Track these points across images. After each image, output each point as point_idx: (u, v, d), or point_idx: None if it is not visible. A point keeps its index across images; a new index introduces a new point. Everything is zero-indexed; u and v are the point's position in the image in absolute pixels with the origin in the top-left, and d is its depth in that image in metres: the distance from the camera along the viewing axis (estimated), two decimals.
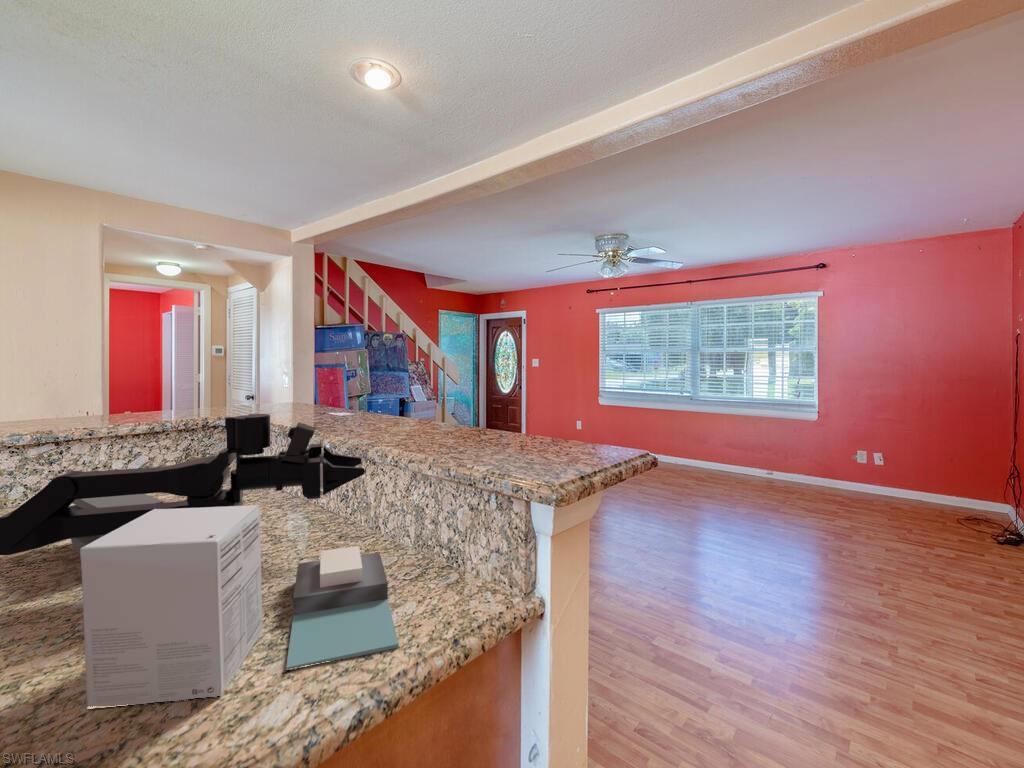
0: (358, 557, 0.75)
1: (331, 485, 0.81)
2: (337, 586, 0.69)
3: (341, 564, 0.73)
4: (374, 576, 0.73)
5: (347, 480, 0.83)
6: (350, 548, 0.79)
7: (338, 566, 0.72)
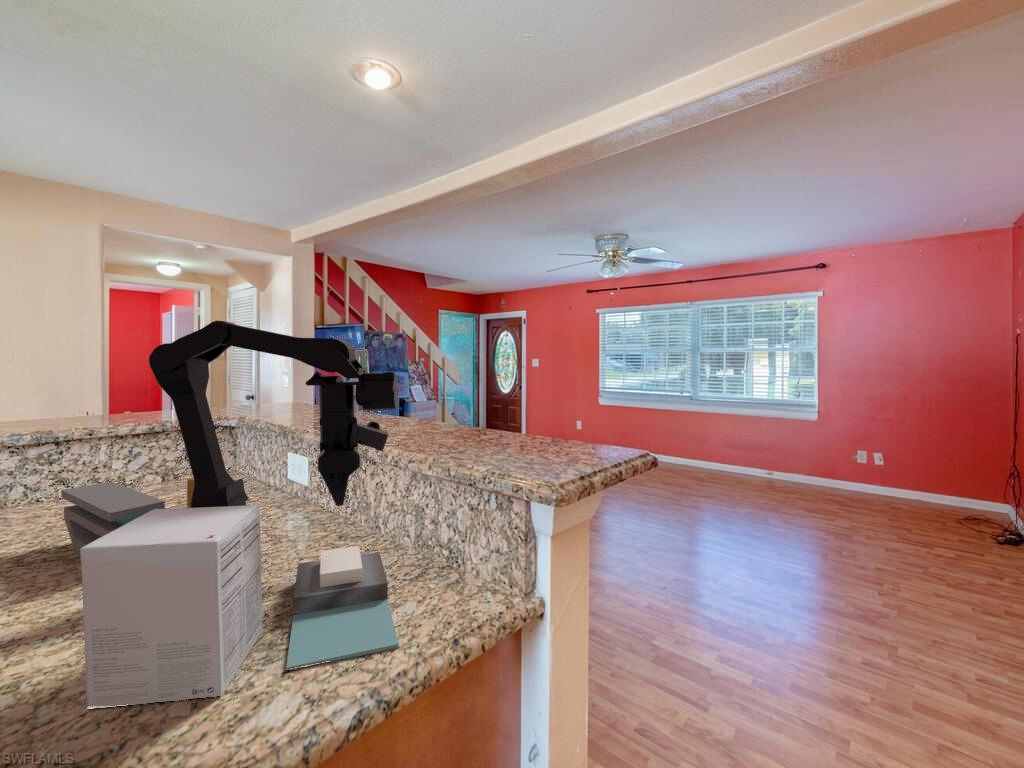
0: (358, 557, 0.75)
1: (328, 476, 0.76)
2: (337, 586, 0.69)
3: (341, 564, 0.73)
4: (374, 576, 0.73)
5: (331, 490, 0.77)
6: (350, 548, 0.79)
7: (338, 566, 0.72)
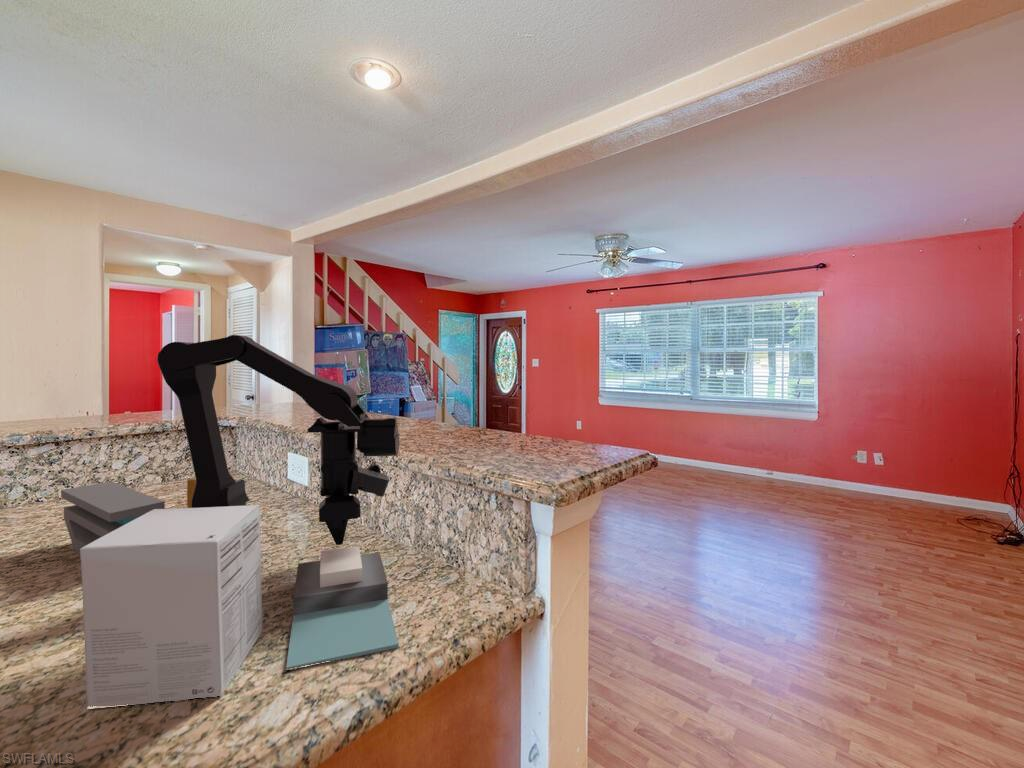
0: (358, 557, 0.75)
1: None
2: (337, 586, 0.69)
3: (341, 564, 0.73)
4: (374, 576, 0.73)
5: (331, 531, 0.81)
6: (350, 548, 0.79)
7: (338, 566, 0.72)
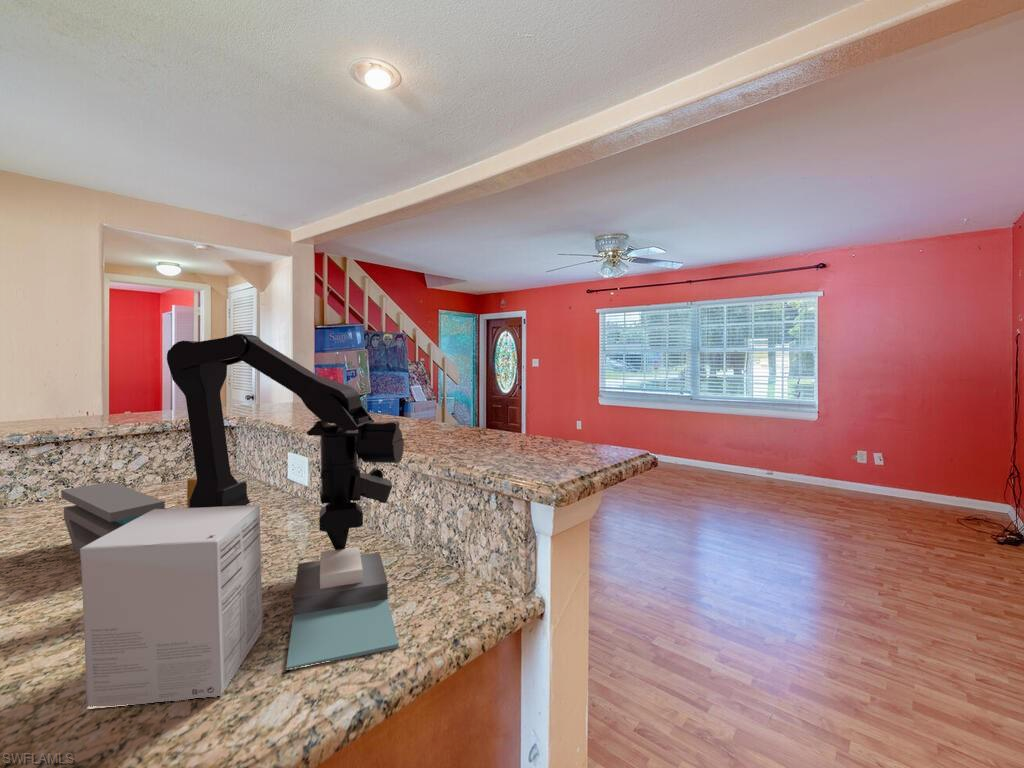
0: (358, 558, 0.75)
1: None
2: (337, 586, 0.69)
3: (341, 565, 0.72)
4: (374, 576, 0.73)
5: (332, 539, 0.77)
6: (350, 549, 0.78)
7: (338, 567, 0.71)
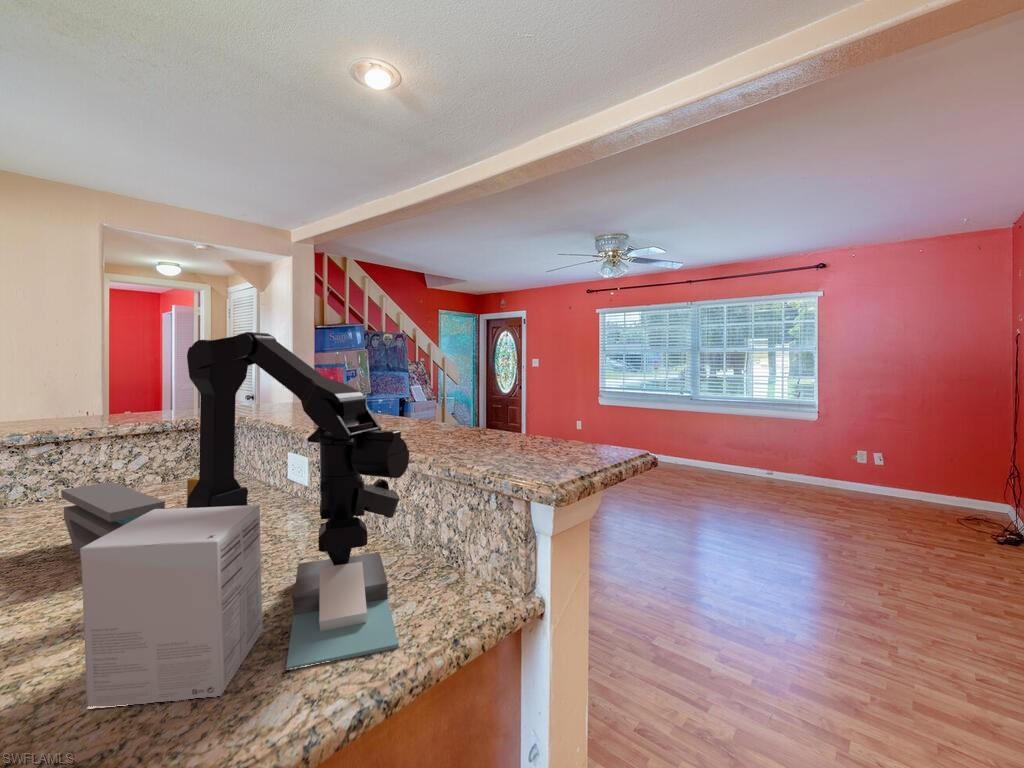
0: (362, 587, 0.67)
1: None
2: None
3: (343, 600, 0.65)
4: (374, 576, 0.73)
5: (333, 558, 0.70)
6: (352, 566, 0.70)
7: (339, 604, 0.64)
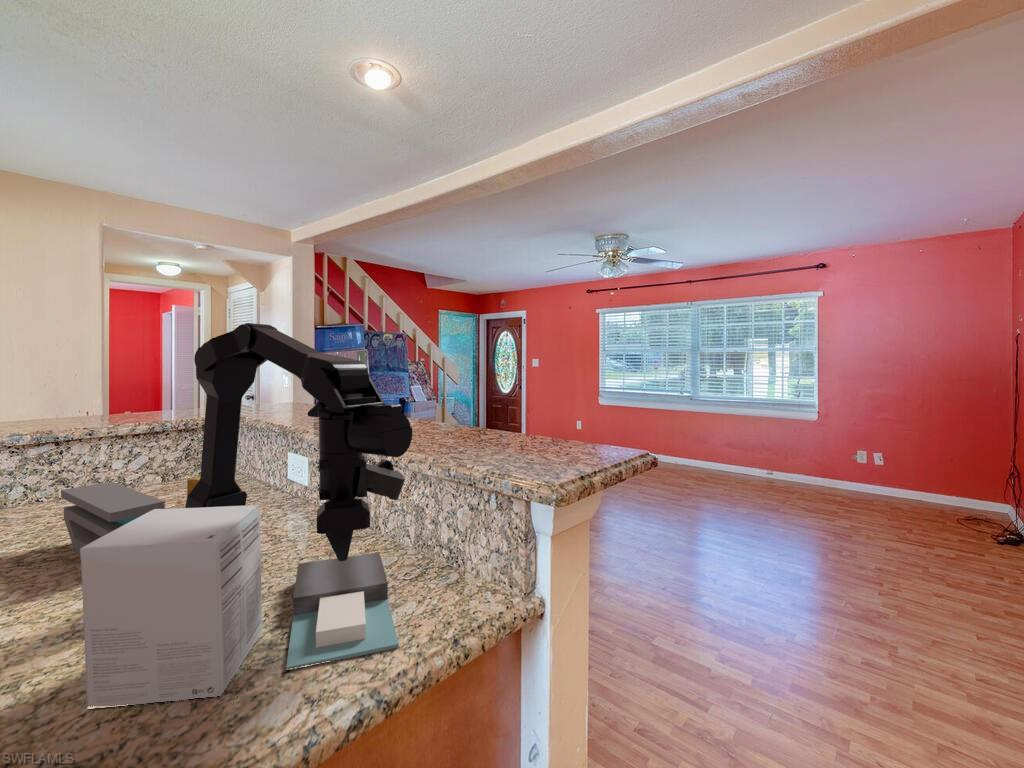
0: (362, 608, 0.65)
1: None
2: (337, 586, 0.69)
3: (342, 617, 0.62)
4: (374, 576, 0.73)
5: (333, 543, 0.64)
6: (354, 594, 0.68)
7: (337, 620, 0.61)
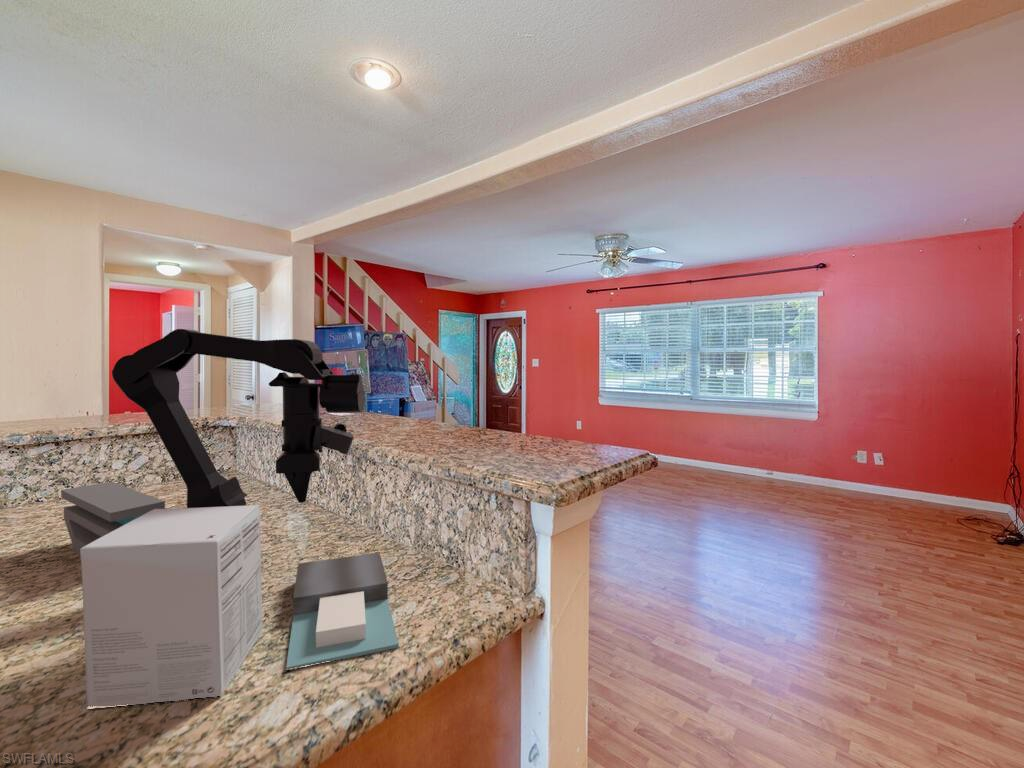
0: (362, 608, 0.65)
1: (290, 473, 0.79)
2: (337, 586, 0.69)
3: (342, 617, 0.62)
4: (374, 576, 0.73)
5: (293, 487, 0.80)
6: (354, 594, 0.68)
7: (337, 620, 0.61)
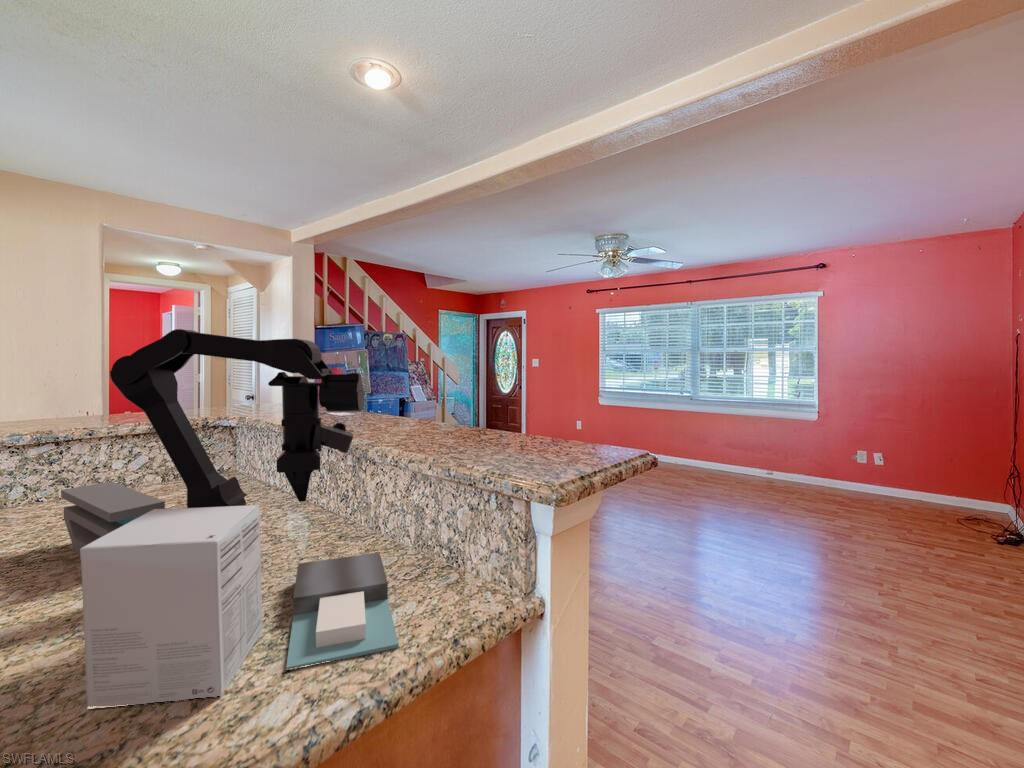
0: (362, 608, 0.65)
1: (290, 472, 0.79)
2: (337, 586, 0.69)
3: (342, 617, 0.62)
4: (374, 576, 0.73)
5: (294, 486, 0.80)
6: (354, 594, 0.68)
7: (337, 620, 0.61)
